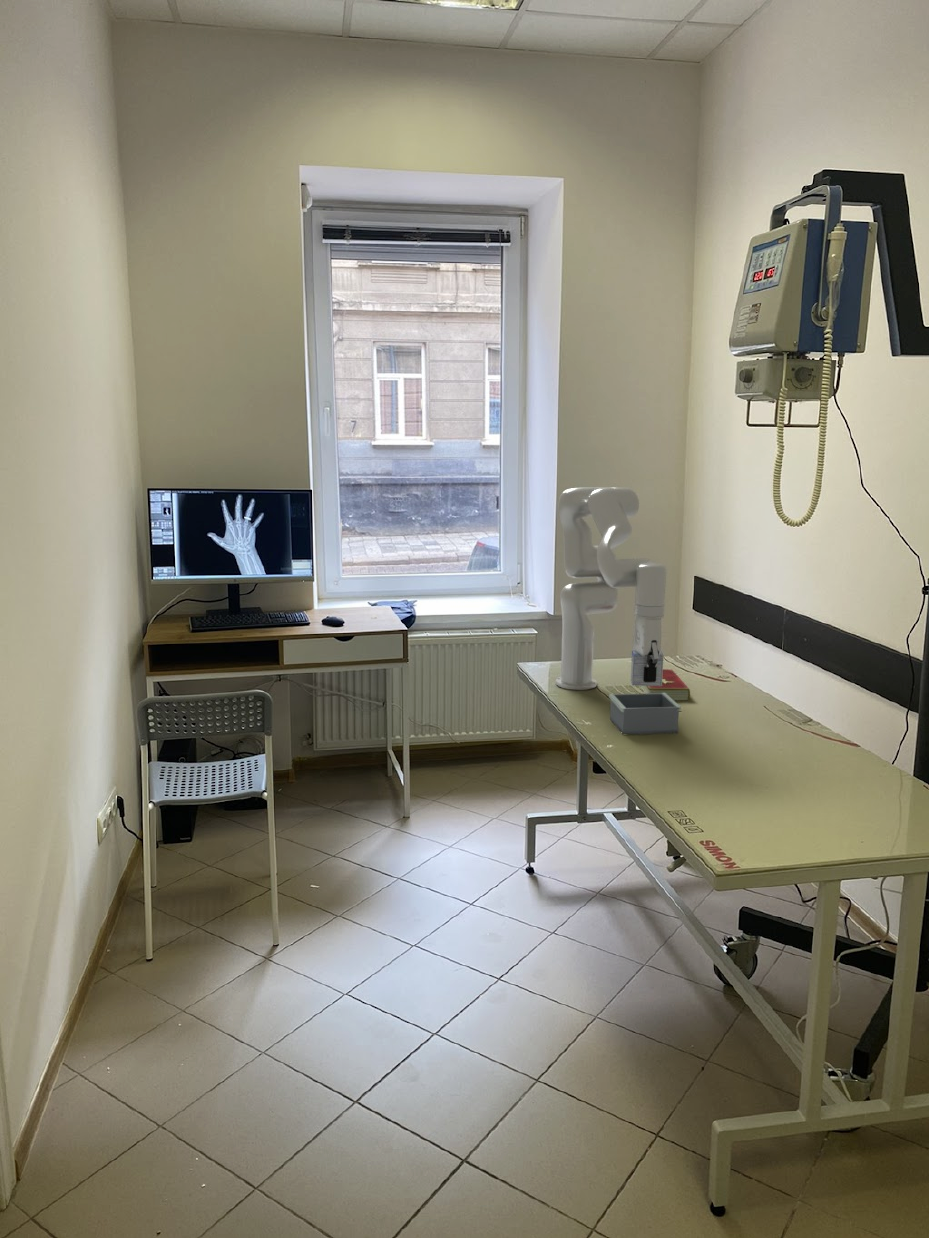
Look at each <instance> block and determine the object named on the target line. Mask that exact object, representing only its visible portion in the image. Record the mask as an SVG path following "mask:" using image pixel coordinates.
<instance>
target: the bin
mask: <svg viewBox="0 0 929 1238" xmlns="http://www.w3.org/2000/svg"><path fill="white" fill-rule="evenodd" d="M608 698H609V699H610V707H609V708H610V712H609V720H610V721H611V722H612V724H613V725H614V726H615V727H616V728H617V730H618V731H619V732H620V733H621V732H622V733H621V734H622V735H623V734H633V735H660V734H661V735H663V734H664V735H665V734H666V735H667V734H678V732H679V731H678V729H679V718H680V717H679V714H680V712H681V711H682V707H681V706H680V705H679V704H678V703H677V702H676V701H675V700H673V699H672V698H670V697H669V696H668V695H667V694H666V693H648V694H645V693H618V694H617V693H615V694H613V693H609V695H608ZM653 733H654V734H653Z"/></svg>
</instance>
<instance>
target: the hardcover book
mask: <svg viewBox="0 0 929 1238" xmlns="http://www.w3.org/2000/svg"><path fill="white" fill-rule="evenodd" d="M639 687H640V688H641V689H642V691H643V692H644V694H648V693H666V694H667V695H668V696H669V697H670V698H672V699H673V700H674V701H675V700H677V701H681V700H682V701H685V700H686V701H690V698H691V690H690V687H688V685H687V684H685V682H684V681H683V680H682V678H680V677H679V676H678V674H677V673H676V672H675V671H674V670H673V669H672V668H663V677H662V686H639Z"/></svg>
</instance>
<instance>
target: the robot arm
mask: <svg viewBox="0 0 929 1238" xmlns="http://www.w3.org/2000/svg"><path fill="white" fill-rule="evenodd" d="M639 509H640V499H639V497H638V495H637V493H636V492H635V491H634V490H633V489H632V488H630V487H615V486H614V487H613V486H611V487H610V486H602V487H596V486H595V487H588V486H587V487H586V486H585V487H574V488H568V489H565V490H564V491H563V492H562V493H561V494H560V495H559V499H558V502H557V512H558V518H559V523H560V525H561V528H562V534H563V538H562V540H563V567H564V571H565V574H566V575H567V577H569V578H573V579H588V578H589V579H590V578H597V581H591V582H590V581H584V582H583V581H582V582H573V583H568V584H566V585H564V586H563V588H562V589H561V591H560V594H559V600H560V608H561V617H562V619H561V621H562V629H561V630H562V631H561V633H562V635H561V663H560V667H561V668H560V676H559V677H557V678H556V679H555V685H556V686H557V685H558V686H557V687H558V688H559V687H560V688H562V689H566V690H573V691H583V690H586V691H587V690H591V689H594V688H596V687H597V686H598V681H597V680H596V679H595V678H594V677H593V668H594V667H593V664H594V662H593V661H594V640H595V629H594V626H593V624H592V622H591V621H590V619H589V618H588V615H593V614H604V613H611V612H613V611H614V610H615V609H616V608H617V606H618V601H619V598H618V596H619V591H618V590H619V589H625V588H626V589H627V588H635V596H634V599H635V600H634V617H635V619H634V625H633V626H634V627H633V635H632V649H633V650H635V651H636V652H638V653H639V654H640V655H641V656H645V666H646V667H644V679H643V681H644V682H655V681H656V670H657V662H658V659H659V655H660V653H661V652H662V619H663V618H665V607H666V606H665V603H666V602H665V601H666V587H667V585H666V584H667V581H666V580H667V568H666V566H665V565H664V564H662V563H658V562H655V561H653V560H652V559H650V558H621V559H619V558H618V559H617V557H616V554H615V551H614V550H613V549H615V548H616V547H617V546H619V545H622V544H623V543H624V542H626V541H627V540H628V539H629V538H630V536H631V535H632V532H633V527H632V523H630V520H629V518H633V517H635V516H636V514H638V512H639ZM584 517H592V518H593V521H594V524H595V525H596V528H597V530H598V532H599V534H600V536H601V539H600V542H599V543H598V545H593V534H592V528H591V527H590V525H589V523H588V522H587V520H586V519H585V518H584ZM648 653H652V655H648ZM648 658H652V659H650V660H649V659H648Z"/></svg>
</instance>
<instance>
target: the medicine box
mask: <svg viewBox="0 0 929 1238" xmlns="http://www.w3.org/2000/svg"><path fill="white" fill-rule="evenodd" d="M648 655H652V653H648ZM648 659H649V660H650V659H652V658H648ZM644 667H646V666H645V656H641V655H640V654H639V653H638V652H636V651H635V650H634V649H633V650H631V664H630V684H631V686H636V687H637V686H638V687H640V686H662V677H663V669H664V653H663V652H662V651H661V653H660V655H659V659H658V662H657V670H656V681H655V682H644V681H643V679H644Z"/></svg>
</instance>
